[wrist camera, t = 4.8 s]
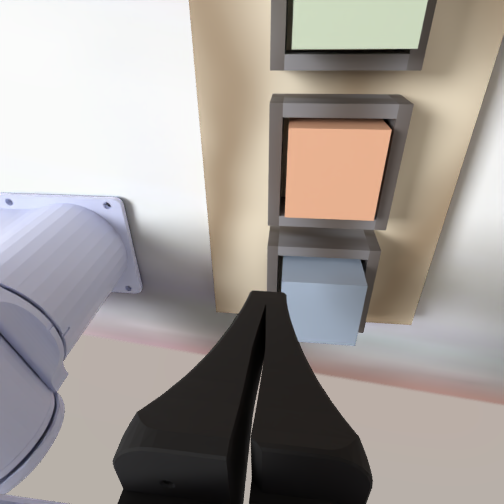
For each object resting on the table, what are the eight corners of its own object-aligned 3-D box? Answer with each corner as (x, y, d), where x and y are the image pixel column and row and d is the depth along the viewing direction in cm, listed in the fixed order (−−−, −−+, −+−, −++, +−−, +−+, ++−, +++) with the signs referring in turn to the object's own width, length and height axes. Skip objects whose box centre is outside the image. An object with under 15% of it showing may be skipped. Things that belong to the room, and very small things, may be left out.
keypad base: (219, 299, 28) (209, 336, 24) (184, -147, 15) (152, -195, 11) (405, 310, 26) (421, 352, 23) (548, -169, 13) (632, -231, 10)
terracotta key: (286, 193, 21) (284, 217, 18) (289, 113, 18) (288, 128, 16) (364, 195, 20) (373, 220, 18) (378, 114, 18) (391, 129, 15)
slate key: (281, 306, 24) (279, 340, 21) (283, 250, 21) (281, 281, 19) (348, 310, 23) (355, 345, 21) (359, 254, 21) (367, 286, 18)
